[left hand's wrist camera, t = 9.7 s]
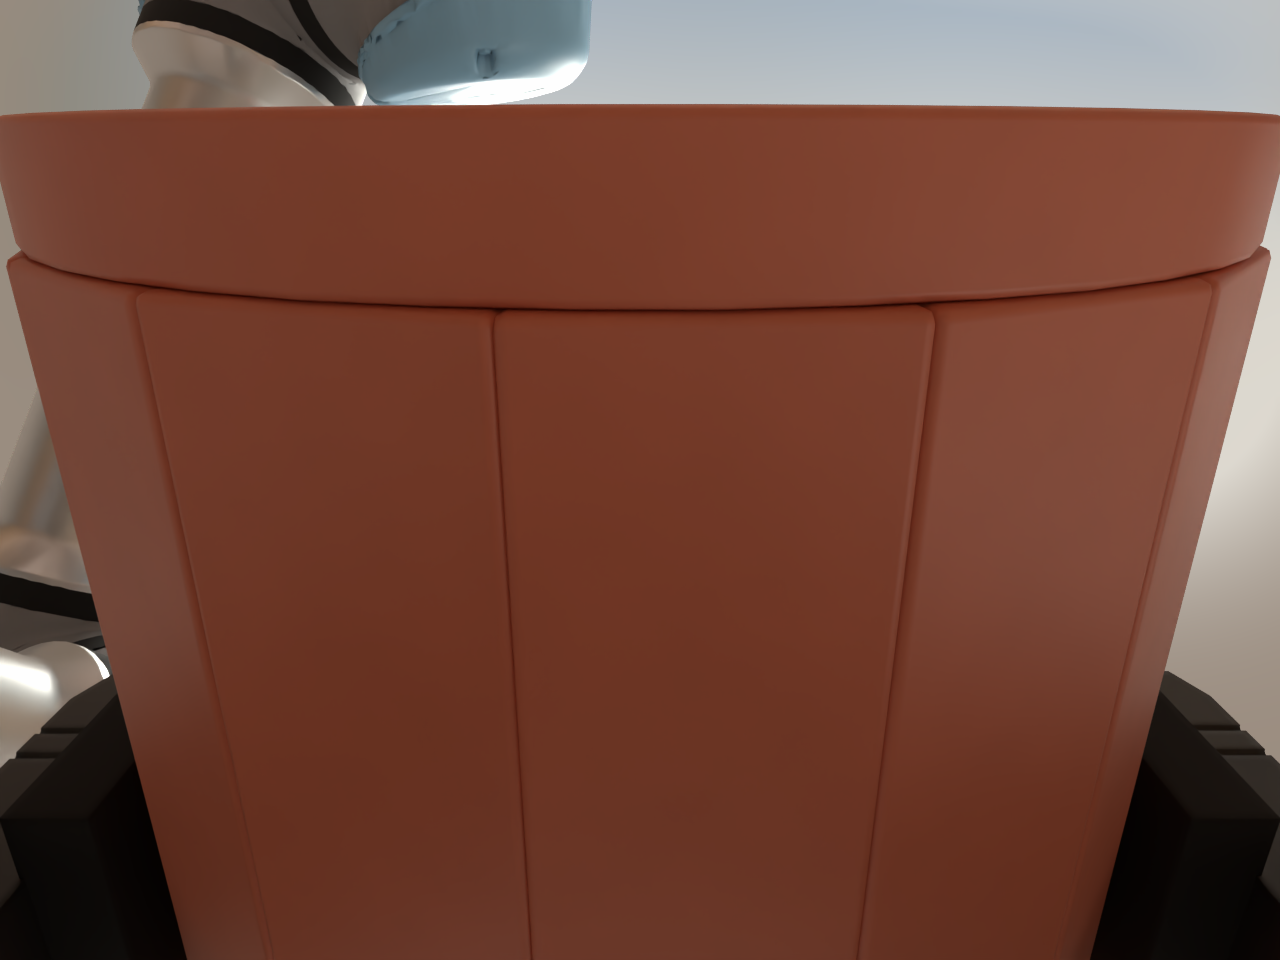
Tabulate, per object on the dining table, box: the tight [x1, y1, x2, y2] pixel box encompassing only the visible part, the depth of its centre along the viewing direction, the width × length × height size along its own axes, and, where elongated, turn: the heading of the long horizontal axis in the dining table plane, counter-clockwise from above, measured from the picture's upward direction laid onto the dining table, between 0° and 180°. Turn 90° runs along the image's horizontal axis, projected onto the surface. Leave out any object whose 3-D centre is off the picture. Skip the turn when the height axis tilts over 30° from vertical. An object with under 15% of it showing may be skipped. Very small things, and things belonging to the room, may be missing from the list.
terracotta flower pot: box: [0, 104, 1280, 960], centre depth 10 cm, size 9×9×11 cm
